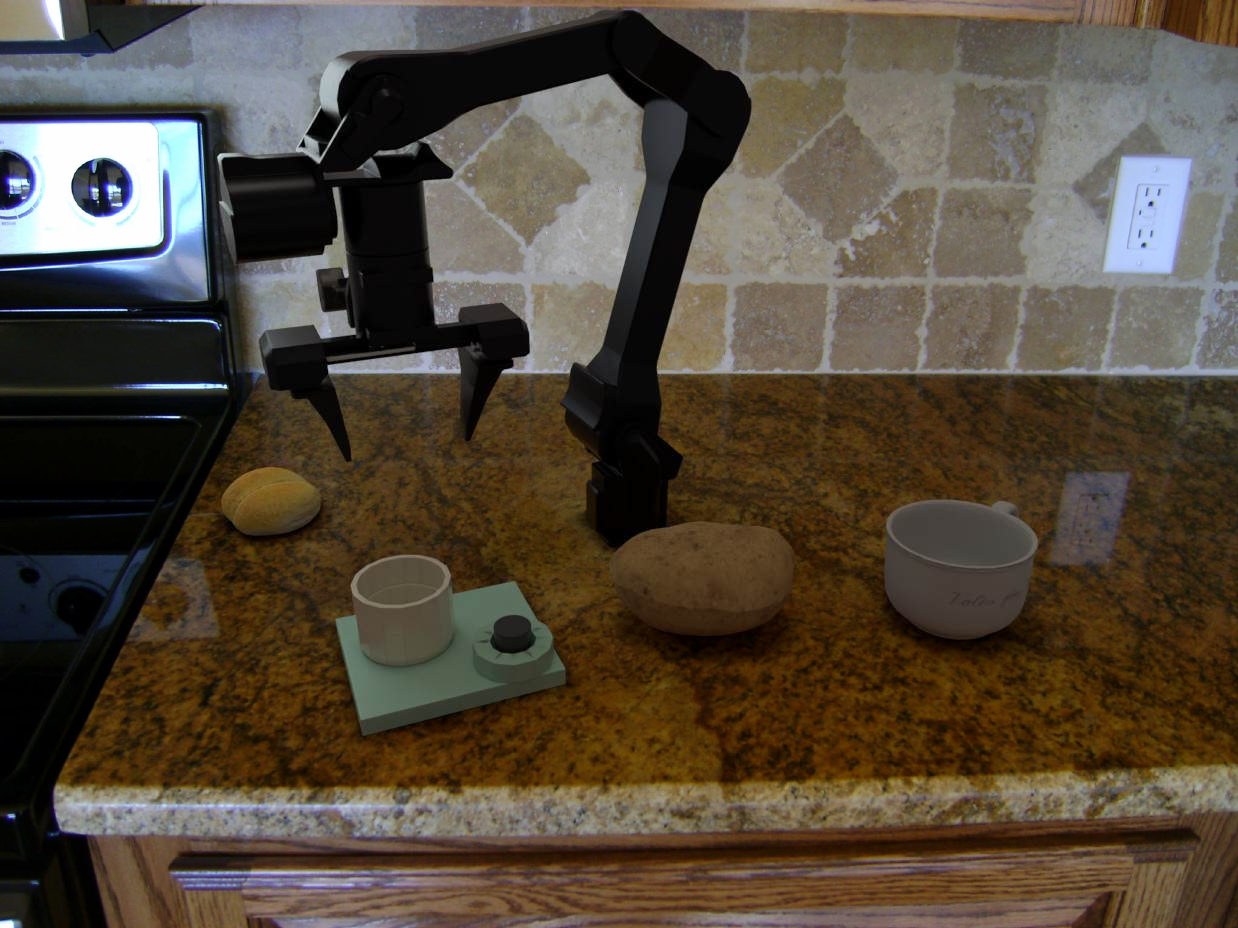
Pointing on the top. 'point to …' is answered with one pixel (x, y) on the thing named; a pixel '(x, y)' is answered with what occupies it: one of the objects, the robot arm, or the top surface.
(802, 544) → the top surface
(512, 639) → the button
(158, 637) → the top surface
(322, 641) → the top surface
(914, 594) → the teacup
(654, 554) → the potato
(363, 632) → the grey cylindrical container
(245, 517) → the bread roll
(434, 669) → the scale
